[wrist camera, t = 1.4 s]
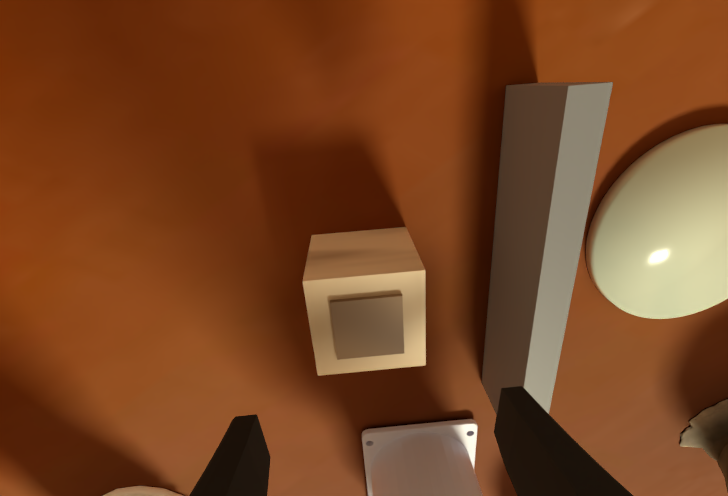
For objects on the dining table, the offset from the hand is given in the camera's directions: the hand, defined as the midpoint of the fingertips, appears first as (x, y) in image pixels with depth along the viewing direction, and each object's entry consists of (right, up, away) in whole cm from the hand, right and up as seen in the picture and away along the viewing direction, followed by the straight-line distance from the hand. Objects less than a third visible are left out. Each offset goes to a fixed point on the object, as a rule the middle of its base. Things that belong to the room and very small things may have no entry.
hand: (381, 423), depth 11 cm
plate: (+17, +6, +9) cm, 21 cm away
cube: (-1, +4, +9) cm, 10 cm away
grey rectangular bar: (+7, +5, +9) cm, 13 cm away
